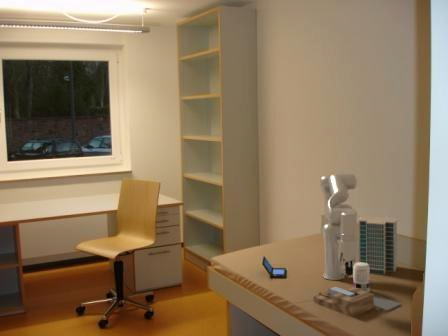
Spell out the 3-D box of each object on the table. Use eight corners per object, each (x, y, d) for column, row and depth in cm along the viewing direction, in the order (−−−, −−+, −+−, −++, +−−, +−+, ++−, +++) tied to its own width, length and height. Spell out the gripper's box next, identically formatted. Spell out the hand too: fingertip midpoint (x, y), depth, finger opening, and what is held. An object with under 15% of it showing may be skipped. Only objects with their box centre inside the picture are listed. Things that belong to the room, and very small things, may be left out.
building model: (357, 271, 285) (357, 222, 282) (362, 263, 300) (361, 216, 297) (393, 275, 277) (393, 224, 273) (396, 266, 292) (396, 218, 288)
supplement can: (350, 290, 256) (350, 263, 255) (362, 287, 260) (362, 260, 258) (360, 295, 249) (360, 267, 247) (372, 292, 252) (372, 264, 251)
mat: (369, 295, 249) (369, 293, 249) (400, 305, 235) (400, 303, 235) (356, 300, 243) (356, 299, 242) (387, 311, 228) (387, 310, 228)
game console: (285, 278, 279) (285, 263, 278) (262, 278, 281) (261, 263, 280) (286, 270, 294) (286, 255, 293) (264, 269, 296) (263, 255, 295)
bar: (329, 296, 242) (329, 288, 241) (335, 294, 244) (335, 286, 244) (348, 303, 232) (348, 295, 232) (354, 301, 235) (354, 293, 234)
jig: (313, 302, 243) (313, 288, 242) (334, 294, 252) (334, 281, 252) (352, 317, 224) (352, 302, 223) (373, 307, 233) (373, 293, 232)
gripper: (352, 233, 238) (352, 268, 241) (332, 238, 229) (332, 275, 232) (365, 235, 232) (365, 272, 235) (344, 241, 223) (345, 279, 226)
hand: (349, 274), depth 233 cm, fingers closed
